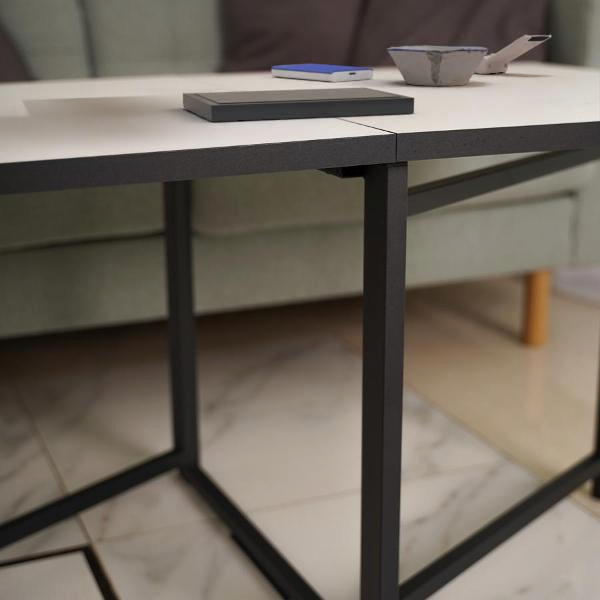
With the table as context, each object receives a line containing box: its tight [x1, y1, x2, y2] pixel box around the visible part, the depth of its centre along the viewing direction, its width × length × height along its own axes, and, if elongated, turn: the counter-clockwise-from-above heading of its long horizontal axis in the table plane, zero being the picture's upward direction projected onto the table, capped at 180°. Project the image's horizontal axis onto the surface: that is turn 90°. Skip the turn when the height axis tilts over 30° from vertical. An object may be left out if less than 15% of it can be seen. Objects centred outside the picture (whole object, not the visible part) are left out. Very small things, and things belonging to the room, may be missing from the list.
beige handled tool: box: [474, 34, 552, 75], centre depth 139 cm, size 6×6×25 cm
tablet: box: [182, 87, 415, 123], centre depth 90 cm, size 20×12×2 cm, turn 109°
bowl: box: [386, 44, 490, 87], centre depth 120 cm, size 13×13×5 cm
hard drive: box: [271, 63, 374, 83], centre depth 129 cm, size 2×8×12 cm
